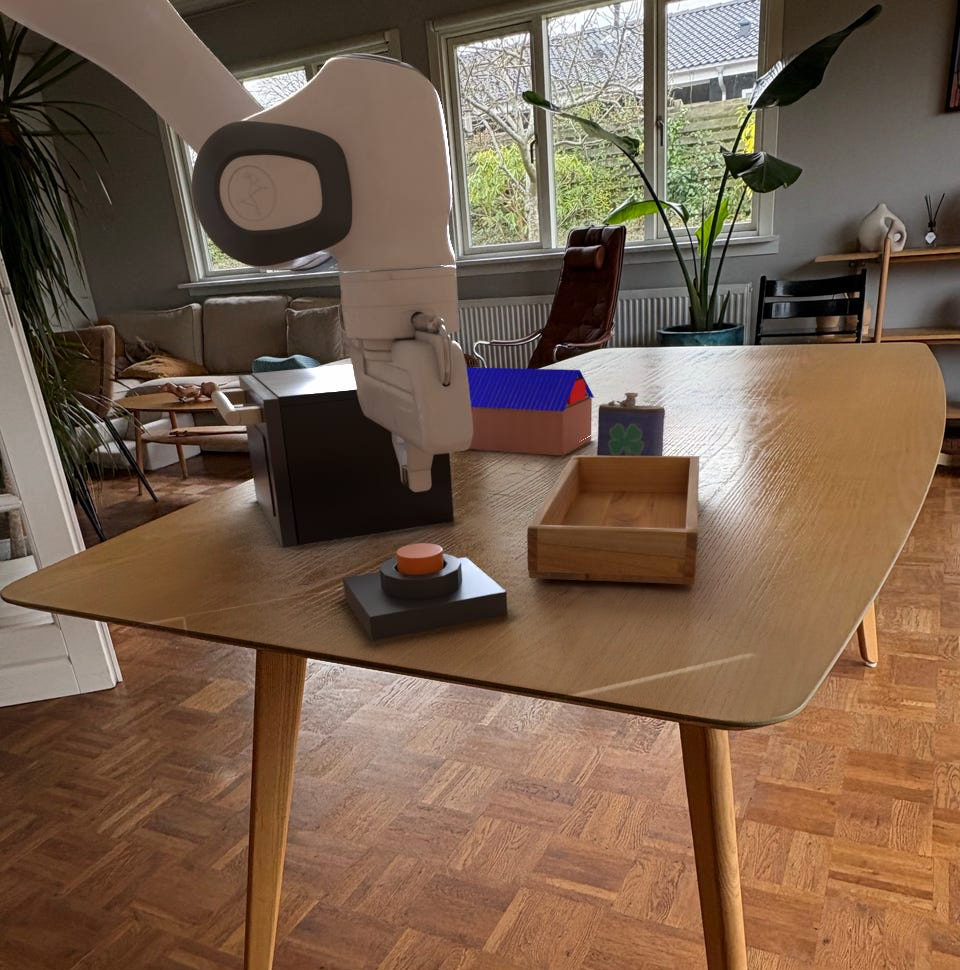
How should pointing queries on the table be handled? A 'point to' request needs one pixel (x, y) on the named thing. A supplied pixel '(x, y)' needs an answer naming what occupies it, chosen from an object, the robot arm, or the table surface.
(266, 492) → the oven door
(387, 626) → the control block
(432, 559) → the button
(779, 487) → the table surface
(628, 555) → the tray
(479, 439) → the house
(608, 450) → the flask
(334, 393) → the oven
